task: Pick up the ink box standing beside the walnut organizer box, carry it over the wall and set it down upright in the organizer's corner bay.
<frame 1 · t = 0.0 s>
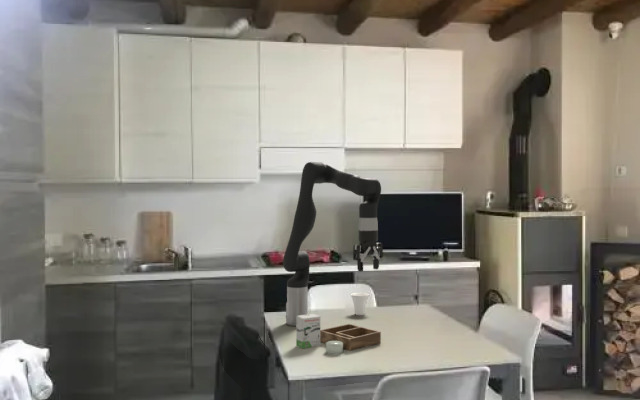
hand: (368, 270, 226), 29 cm above the table, fingers open, 8 cm apart
organizer: (349, 342, 230), on the table
cup: (360, 314, 282), on the table
ink box: (308, 346, 225), on the table
white domed round part: (334, 352, 217), on the table
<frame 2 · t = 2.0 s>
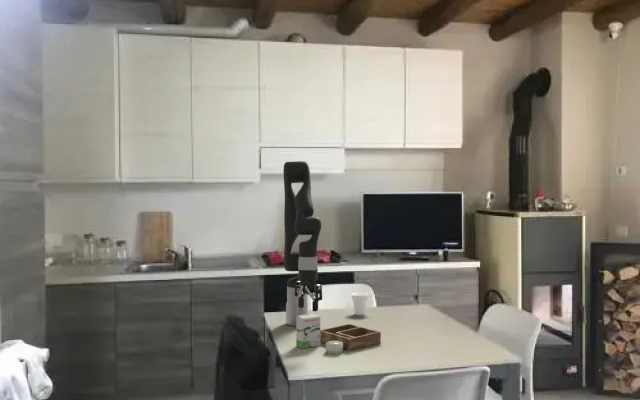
hand: (308, 309, 225), 14 cm above the table, fingers open, 8 cm apart
nothing on the table moved.
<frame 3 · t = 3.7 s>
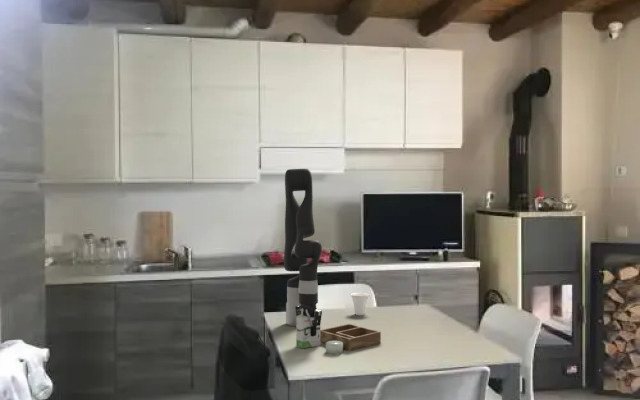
hand: (308, 334, 225), 4 cm above the table, fingers closed on ink box, 5 cm apart
ink box: (308, 346, 225), on the table, touching gripper
everything else where it was.
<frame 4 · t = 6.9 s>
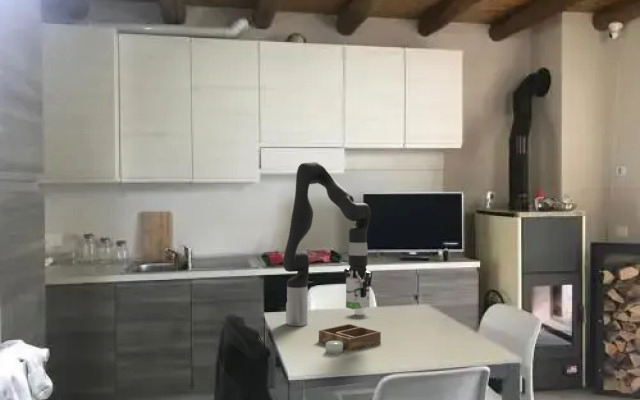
hand: (358, 296, 228), 19 cm above the table, fingers closed on ink box, 5 cm apart
ink box: (357, 307, 228), point 14 cm above the table, touching gripper
everything else where it was.
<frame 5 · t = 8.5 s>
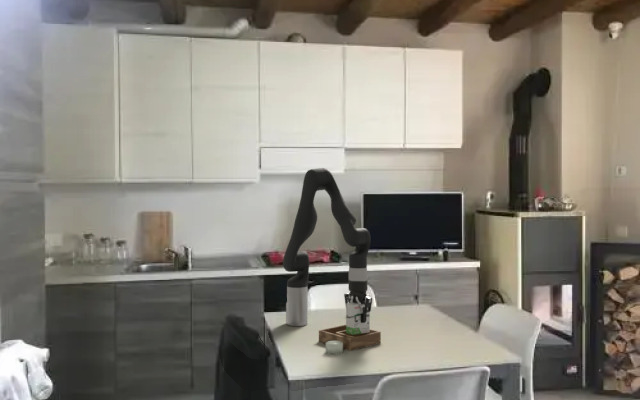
hand: (358, 321, 228), 9 cm above the table, fingers closed on ink box, 5 cm apart
ink box: (357, 332, 228), point 4 cm above the table, touching gripper
everything else where it was.
when the fingers open (6 cm above the table, at t = 9.9 s): ink box drops 1 cm, resting on organizer.
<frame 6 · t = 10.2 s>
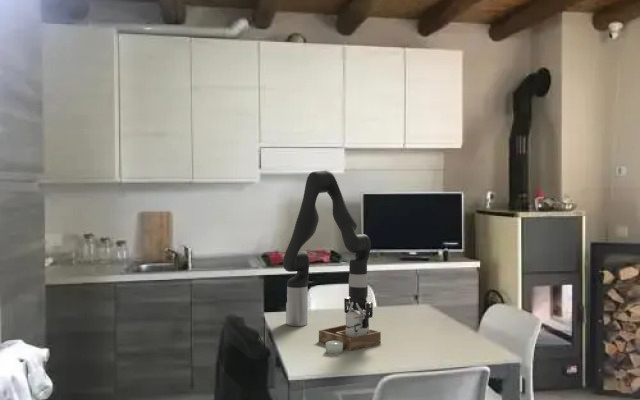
hand: (358, 326, 228), 7 cm above the table, fingers open, 7 cm apart
ink box: (357, 342, 229), resting on organizer
everything else where it was.
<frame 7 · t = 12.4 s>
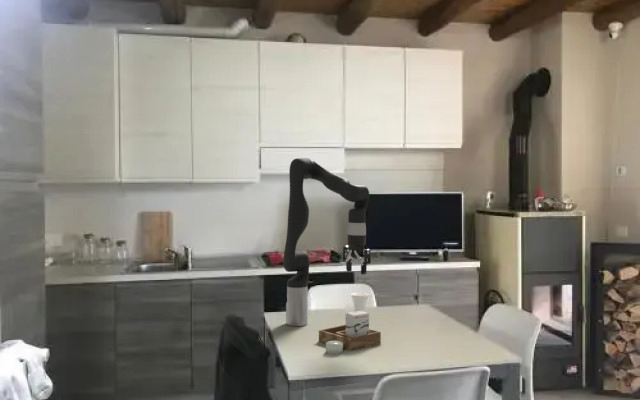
hand: (356, 272, 237), 27 cm above the table, fingers open, 8 cm apart
nothing on the table moved.
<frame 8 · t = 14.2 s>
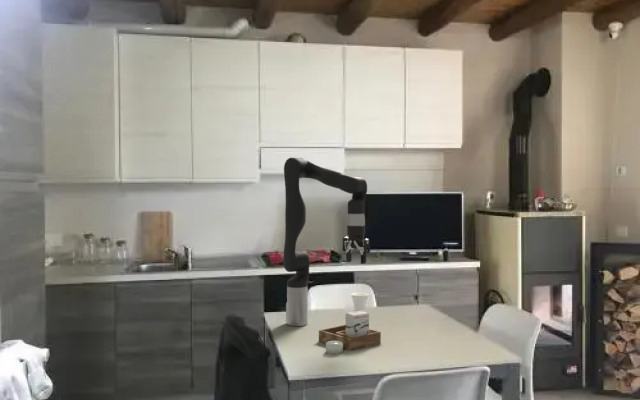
hand: (356, 262, 243), 30 cm above the table, fingers open, 8 cm apart
nothing on the table moved.
at the end: ink box inside the target area (0.4 cm from its centre), resting on organizer; ink box tilted 0°; the gripper is holding nothing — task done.
